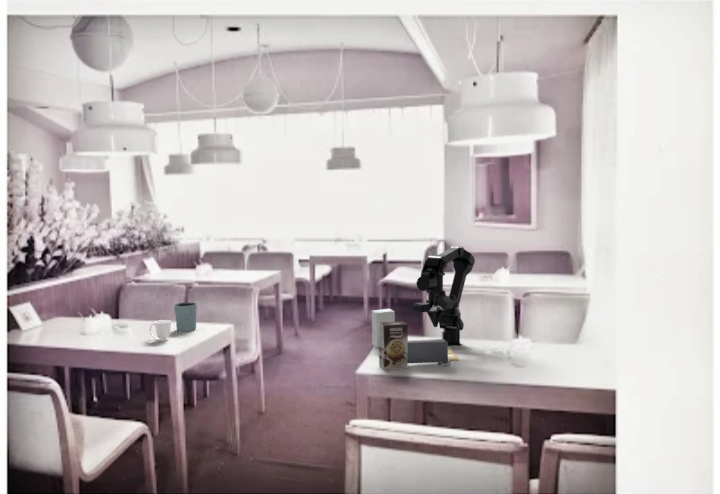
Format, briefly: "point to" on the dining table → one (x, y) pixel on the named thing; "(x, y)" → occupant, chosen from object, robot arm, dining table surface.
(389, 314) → the skincare box
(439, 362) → the flange
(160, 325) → the cup
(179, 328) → the teal tapered pot
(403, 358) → the cookie box
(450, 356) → the left label plate
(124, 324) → the dining table surface
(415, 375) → the dining table surface
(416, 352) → the gray rectangular panel
